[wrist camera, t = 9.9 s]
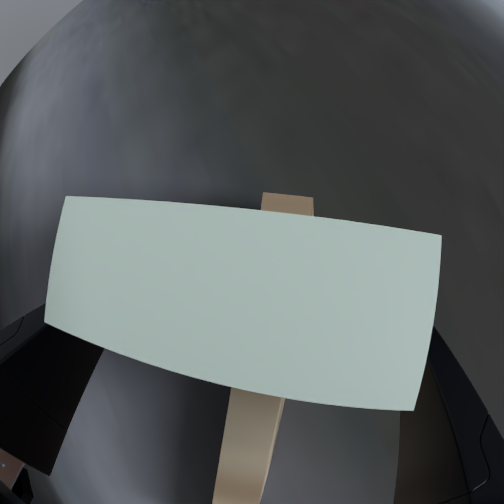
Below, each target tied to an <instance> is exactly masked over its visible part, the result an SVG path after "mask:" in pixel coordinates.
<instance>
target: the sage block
mask: <svg viewBox="0 0 504 504" xmlns="http://www.w3.org/2000/svg"><path fill="white" fill-rule="evenodd" d="M441 237H442V235H436V234H430V233H424V232H418V231H412V230H406V229H400V228H393V227H387V226H380V225H373V224H366V223H359V222H352V221H345V220H337V219H330V218H322V217H314V216H306V215H298V214H289V213H281V212H272V211H263V210H253V209H243V208H233V207H223V206H212V205H201V204H189V203H177V202H163V201H149V200H134V199H117V198H99V197H76V196H66V198H65V202H64V206H63V209H62V214H61V218H60V222H59V227H58V231H57V236H56V241H55V246H54V251H53V257H52V263H51V269H50V275H49V282H48V290H47V298H46V308H45V319H44V322H45V323H47V324H49V325H52V326H54V327H56V328H58V329H60V330H63V331H65V332H67V333H69V334H72V335H74V336H76V337H79V338H81V339H83V340H86V341H88V342H91V343H93V344H96V345H98V346H101V347H103V348H106V349H108V350H111V351H114V352H116V353H119V354H122V355H124V356H127V357H130V358H133V359H136V360H139V361H142V362H145V363H148V364H151V365H154V366H157V367H160V368H163V369H166V370H170V371H173V372H176V373H180V374H183V375H187V376H190V377H194V378H197V379H201V380H205V381H209V382H213V383H217V384H221V385H225V386H229V387H233V388H238V389H242V390H247V391H251V392H256V393H261V394H266V395H272V396H277V397H283V398H288V399H294V400H301V401H307V402H314V403H322V404H329V405H338V406H347V407H357V408H369V409H384V410H405V411H414V408H415V404H416V400H417V397H418V393H419V389H420V385H421V381H422V377H423V373H424V369H425V364H426V360H427V355H428V350H429V345H430V339H431V334H432V328H433V321H434V315H435V308H436V300H437V292H438V282H439V271H440V257H441Z"/></svg>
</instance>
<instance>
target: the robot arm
mask: <svg viewBox="0 0 504 504" xmlns="http://www.w3.org/2000/svg"><path fill="white" fill-rule="evenodd" d="M45 308H46V304H44V305H42V306H40V307H39V308H37V309H35V310H33V311H32V312H30V313H28V314H26V315H25V316H23V317H21V318H20V319H18V320H16V321H15V322H13V323H11V324H9V325H8V326H6V327H4V328H2V329H0V504H30V503H31V501H32V499H33V497H34V496H33V492H32V489H31V485H30V480H29V476H28V471H27V469H26V468H25V467H24V464H25V463H26V464H27V465H29V466H31V467H33V468H35V469H36V470H38V471H40V472H42V473H44V474H46V475H48V476H50V474H51V472H52V469H53V467H54V464H55V461H56V458H57V456H58V453H59V450H60V448H61V445H62V443H63V440H64V438H65V435H66V433H67V430H68V427H69V425H70V423H71V420H72V418H73V415H74V413H75V411H76V408H77V406H78V404H79V402H80V399H81V397H82V395H83V393H84V390H85V388H86V386H87V384H88V382H89V379H90V377H91V375H92V373H93V371H94V369H95V367H96V365H97V362H98V360H99V358H100V356H101V354H102V352H103V350H104V348H103V347H101V346H98V345H96V344H93V343H91V342H88V341H86V340H83V339H81V338H79V337H76V336H74V335H72V334H69V333H67V332H65V331H63V330H60V329H58V328H56V327H54V326H52V325H49V324H47V323H45V322H44V319H45ZM393 504H504V439H503V438H502V436H501V434H500V432H499V431H498V429H497V427H496V425H495V423H494V422H493V420H492V418H491V416H490V414H488V411H487V409H486V407H485V406H484V404H483V402H482V400H481V399H480V397H479V395H478V393H477V392H476V390H475V388H474V387H473V385H472V383H471V382H470V380H469V379H468V377H467V375H466V374H465V372H464V370H463V369H462V367H461V366H460V364H459V363H458V361H457V360H456V358H455V356H454V355H453V353H452V352H451V350H450V349H449V347H448V346H447V344H446V343H445V341H444V340H443V338H442V337H441V336H440V334H439V333H438V331H437V330H436V328H435V327H434V325H433V328H432V334H431V339H430V345H429V350H428V355H427V360H426V364H425V369H424V373H423V377H422V381H421V385H420V389H419V393H418V397H417V400H416V404H415V408H414V411H405V410H400V440H399V456H398V468H397V479H396V488H395V496H394V503H393Z"/></svg>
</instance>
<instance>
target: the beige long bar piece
mask: <svg viewBox="0 0 504 504" xmlns="http://www.w3.org/2000/svg"><path fill="white" fill-rule="evenodd" d="M261 210H263V211H272V212H281V213H289V214H298V215H306V216H313V198H311V197H303V196H294V195H284V194H275V193H265V192H263V198H262V204H261ZM284 401H285V398H283V397H277V396H272V395H266V394H261V393H256V392H251V391H247V390H242V389H238V388H233V387H231V393H230V399H229V405H228V411H227V417H226V423H225V429H224V435H223V441H222V447H221V453H220V459H219V465H218V471H217V477H216V483H215V489H214V495H213V501H212V504H260V501H261V497H262V493H263V490H264V486H265V482H266V478H267V474H268V470H269V466H270V462H271V458H272V454H273V450H274V446H275V441H276V437H277V433H278V428H279V424H280V419H281V415H282V410H283V406H284Z"/></svg>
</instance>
